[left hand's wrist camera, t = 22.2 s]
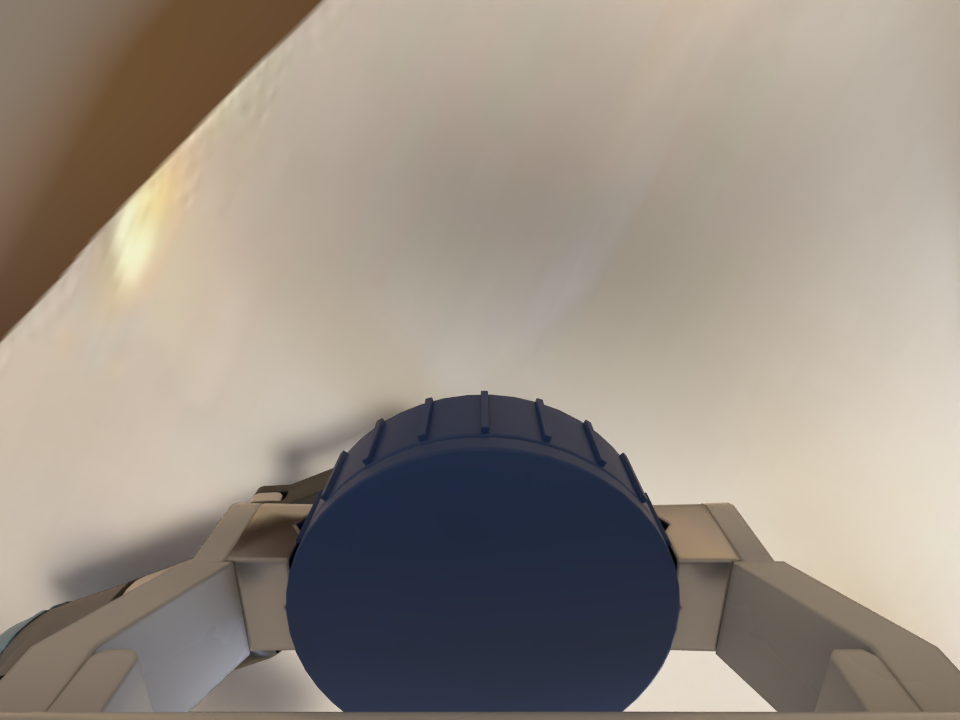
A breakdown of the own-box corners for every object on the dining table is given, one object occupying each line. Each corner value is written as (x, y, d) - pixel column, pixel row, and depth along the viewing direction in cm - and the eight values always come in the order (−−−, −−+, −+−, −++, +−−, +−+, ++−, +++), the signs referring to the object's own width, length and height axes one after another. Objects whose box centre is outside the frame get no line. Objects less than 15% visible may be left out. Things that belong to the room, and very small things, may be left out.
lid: (357, 342, 9) (328, 388, 7) (708, 446, 10) (758, 511, 8) (285, 625, 11) (248, 715, 9) (579, 695, 12) (596, 791, 10)
